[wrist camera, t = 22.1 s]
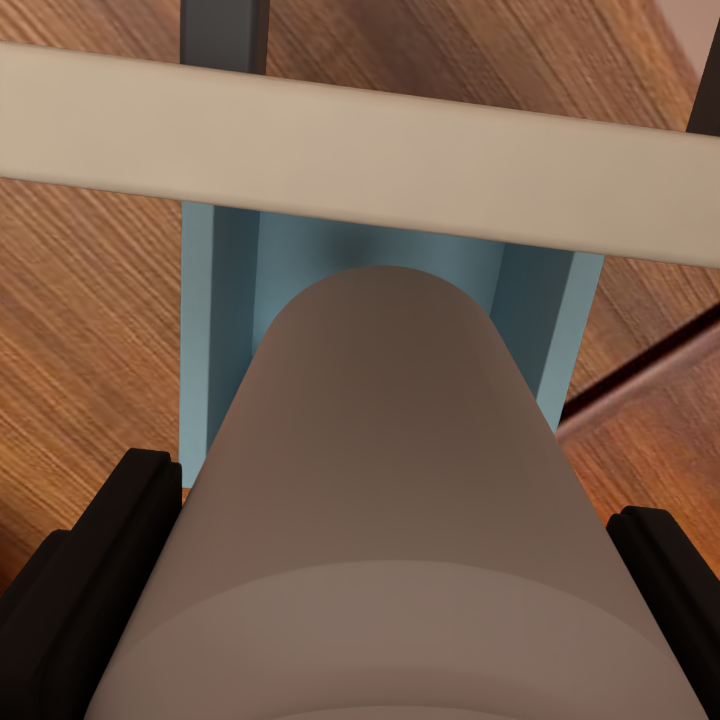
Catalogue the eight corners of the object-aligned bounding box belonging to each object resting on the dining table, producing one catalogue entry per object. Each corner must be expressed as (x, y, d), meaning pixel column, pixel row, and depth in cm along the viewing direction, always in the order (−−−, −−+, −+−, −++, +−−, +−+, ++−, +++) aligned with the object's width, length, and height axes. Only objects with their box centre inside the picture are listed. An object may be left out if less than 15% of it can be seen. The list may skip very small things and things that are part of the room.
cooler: (484, 407, 29) (529, 527, 21) (233, 377, 28) (177, 487, 20) (544, 143, 24) (632, 162, 16) (247, 103, 24) (182, 102, 16)
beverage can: (553, 330, 15) (1017, 908, 4) (424, 516, 18) (514, 1212, 7) (326, 209, 14) (170, 558, 3) (220, 422, 17) (-88, 1061, 6)
